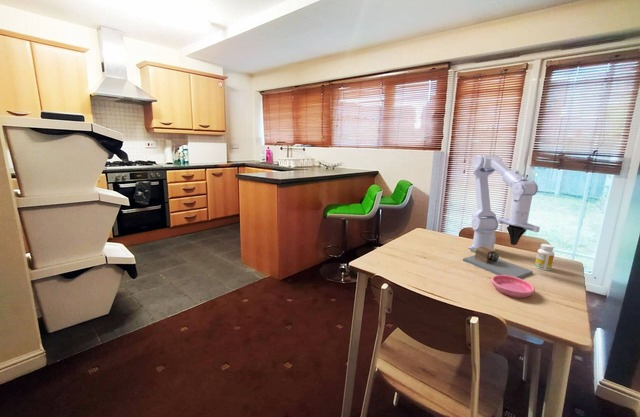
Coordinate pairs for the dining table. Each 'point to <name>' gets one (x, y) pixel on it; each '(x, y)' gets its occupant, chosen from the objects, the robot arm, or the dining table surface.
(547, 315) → the dining table surface
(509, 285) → the saucer
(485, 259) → the bearing block
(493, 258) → the shaft
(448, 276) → the dining table surface
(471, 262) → the base board
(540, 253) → the supplement bottle
